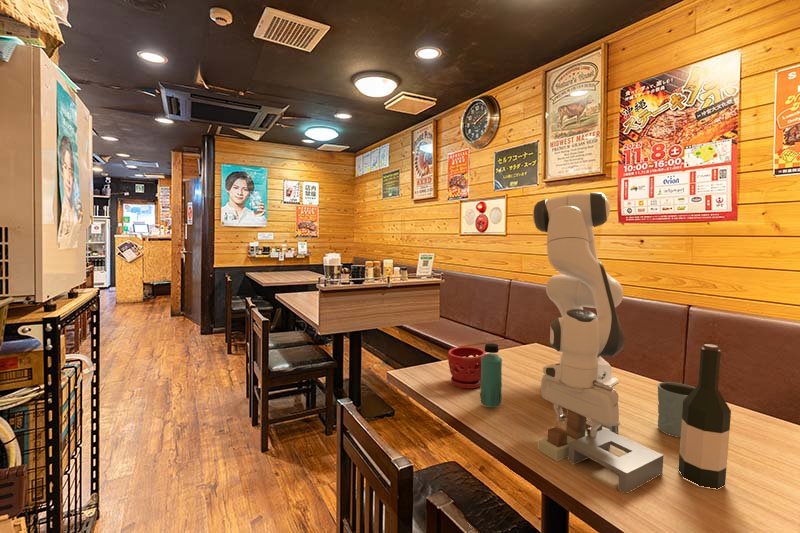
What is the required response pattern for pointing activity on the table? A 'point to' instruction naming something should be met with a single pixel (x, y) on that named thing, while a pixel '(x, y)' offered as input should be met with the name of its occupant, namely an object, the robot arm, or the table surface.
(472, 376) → the plant pot
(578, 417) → the pin long
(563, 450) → the peg rack
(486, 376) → the beverage bottle
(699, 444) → the wine bottle
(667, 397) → the grey cup
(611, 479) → the table surface
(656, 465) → the hole bridge
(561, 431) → the pin medium
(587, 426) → the pin short
